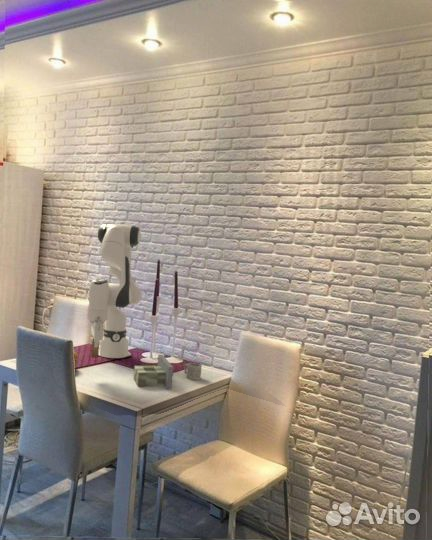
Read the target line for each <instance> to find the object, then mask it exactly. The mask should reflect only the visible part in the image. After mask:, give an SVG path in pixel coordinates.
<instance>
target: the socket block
mask: <svg viewBox="0 0 432 540" xmlns="http://www.w3.org/2000/svg"><path fill="white" fill-rule="evenodd" d="M165 375H166V373H165V371H164V370H163V369H162V368H161V366H158V365H134V366H133V381H134V382H135V384H136V386H137V387H139V388H140V387H165Z"/></svg>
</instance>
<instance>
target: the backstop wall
mask: <svg viewBox="0 0 432 540" xmlns="http://www.w3.org/2000/svg"><path fill="white" fill-rule="evenodd" d="M157 366H161V368H162V369H163V370H164V371H165V373H166V375H165V386H164V387H165V389H166V390H168V391H169V390H172V389H173V376H174V366H173V365H172V364H171V362H170V361H169V360H168V359H167V358H166V357H165V356H164V354H158V357H157Z"/></svg>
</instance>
